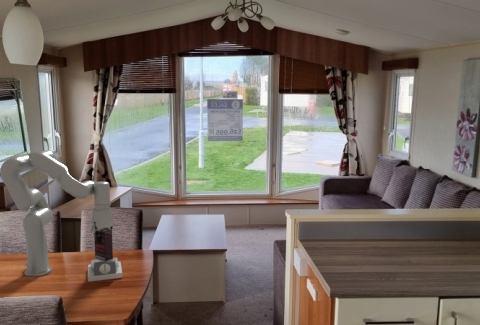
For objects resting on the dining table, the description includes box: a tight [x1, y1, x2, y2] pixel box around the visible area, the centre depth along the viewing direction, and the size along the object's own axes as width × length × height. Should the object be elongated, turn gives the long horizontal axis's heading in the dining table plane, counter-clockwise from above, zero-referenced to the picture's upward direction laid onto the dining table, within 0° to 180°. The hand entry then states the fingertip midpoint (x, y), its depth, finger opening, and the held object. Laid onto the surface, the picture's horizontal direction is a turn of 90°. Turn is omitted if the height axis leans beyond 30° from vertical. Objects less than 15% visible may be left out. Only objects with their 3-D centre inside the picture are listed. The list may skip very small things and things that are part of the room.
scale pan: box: [90, 257, 119, 270], centre depth 220 cm, size 11×13×1 cm
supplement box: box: [93, 228, 114, 262], centre depth 218 cm, size 9×5×16 cm, turn 55°
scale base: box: [87, 260, 123, 282], centre depth 218 cm, size 16×16×8 cm
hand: (103, 241), depth 218 cm, fingers closed on supplement box, 5 cm apart
